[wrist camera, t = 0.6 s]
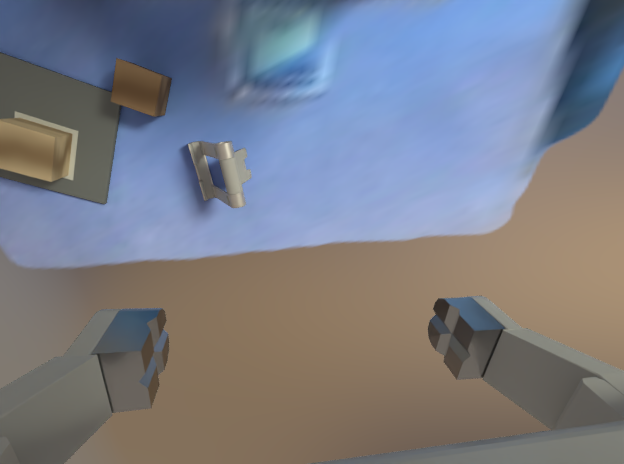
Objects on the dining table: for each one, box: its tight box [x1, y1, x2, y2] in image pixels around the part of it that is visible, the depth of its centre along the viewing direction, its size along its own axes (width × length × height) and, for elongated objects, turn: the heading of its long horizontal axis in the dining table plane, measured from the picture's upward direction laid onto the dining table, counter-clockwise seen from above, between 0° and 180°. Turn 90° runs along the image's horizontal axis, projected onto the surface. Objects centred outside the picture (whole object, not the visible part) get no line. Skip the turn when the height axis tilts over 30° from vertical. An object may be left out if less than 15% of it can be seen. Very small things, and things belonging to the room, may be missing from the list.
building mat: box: [0, 52, 121, 204], centre depth 41 cm, size 16×14×1 cm
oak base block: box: [0, 118, 73, 182], centre depth 40 cm, size 6×6×4 cm
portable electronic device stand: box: [188, 141, 251, 208], centre depth 43 cm, size 9×8×8 cm
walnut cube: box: [111, 58, 172, 117], centre depth 39 cm, size 5×5×5 cm
